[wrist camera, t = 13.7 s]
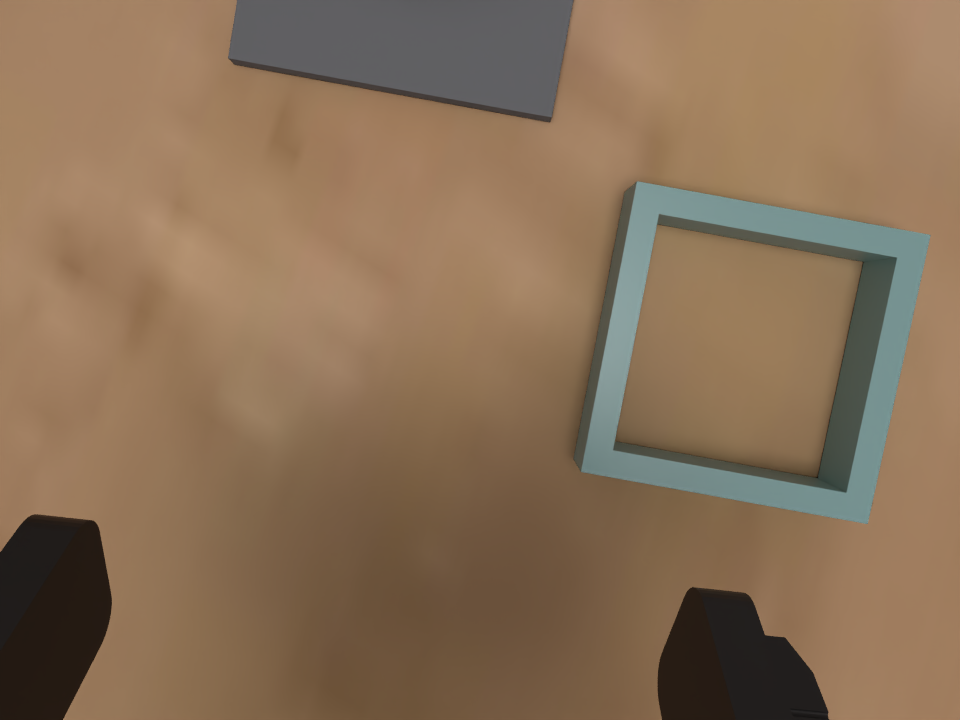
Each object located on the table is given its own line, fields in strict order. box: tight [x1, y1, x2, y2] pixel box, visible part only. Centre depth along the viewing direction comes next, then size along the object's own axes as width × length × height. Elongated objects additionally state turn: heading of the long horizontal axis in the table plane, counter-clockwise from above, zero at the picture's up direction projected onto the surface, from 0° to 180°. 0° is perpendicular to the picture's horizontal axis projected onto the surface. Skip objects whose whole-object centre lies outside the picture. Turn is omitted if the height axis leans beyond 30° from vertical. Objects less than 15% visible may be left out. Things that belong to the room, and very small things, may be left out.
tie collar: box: [574, 181, 930, 524], centre depth 24 cm, size 9×9×2 cm
